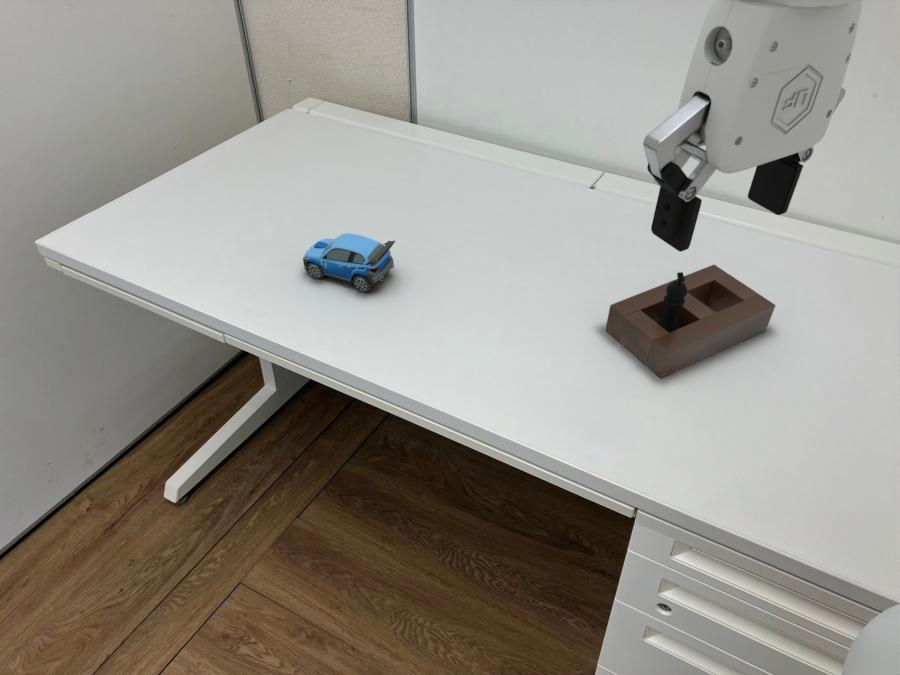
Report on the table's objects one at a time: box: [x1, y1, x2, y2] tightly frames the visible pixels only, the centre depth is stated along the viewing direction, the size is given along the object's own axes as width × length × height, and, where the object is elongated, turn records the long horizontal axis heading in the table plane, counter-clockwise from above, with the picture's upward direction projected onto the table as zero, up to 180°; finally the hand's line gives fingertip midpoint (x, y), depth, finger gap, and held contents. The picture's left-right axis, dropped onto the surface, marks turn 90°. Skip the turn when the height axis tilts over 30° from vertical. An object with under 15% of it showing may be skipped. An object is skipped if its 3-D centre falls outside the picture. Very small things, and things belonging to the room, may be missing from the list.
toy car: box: [302, 232, 396, 293], centre depth 92 cm, size 6×12×6 cm, turn 67°
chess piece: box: [657, 271, 687, 333], centre depth 81 cm, size 4×4×10 cm
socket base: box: [605, 264, 776, 380], centre depth 84 cm, size 10×17×4 cm, turn 120°
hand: (719, 223), depth 51 cm, fingers open, 9 cm apart
